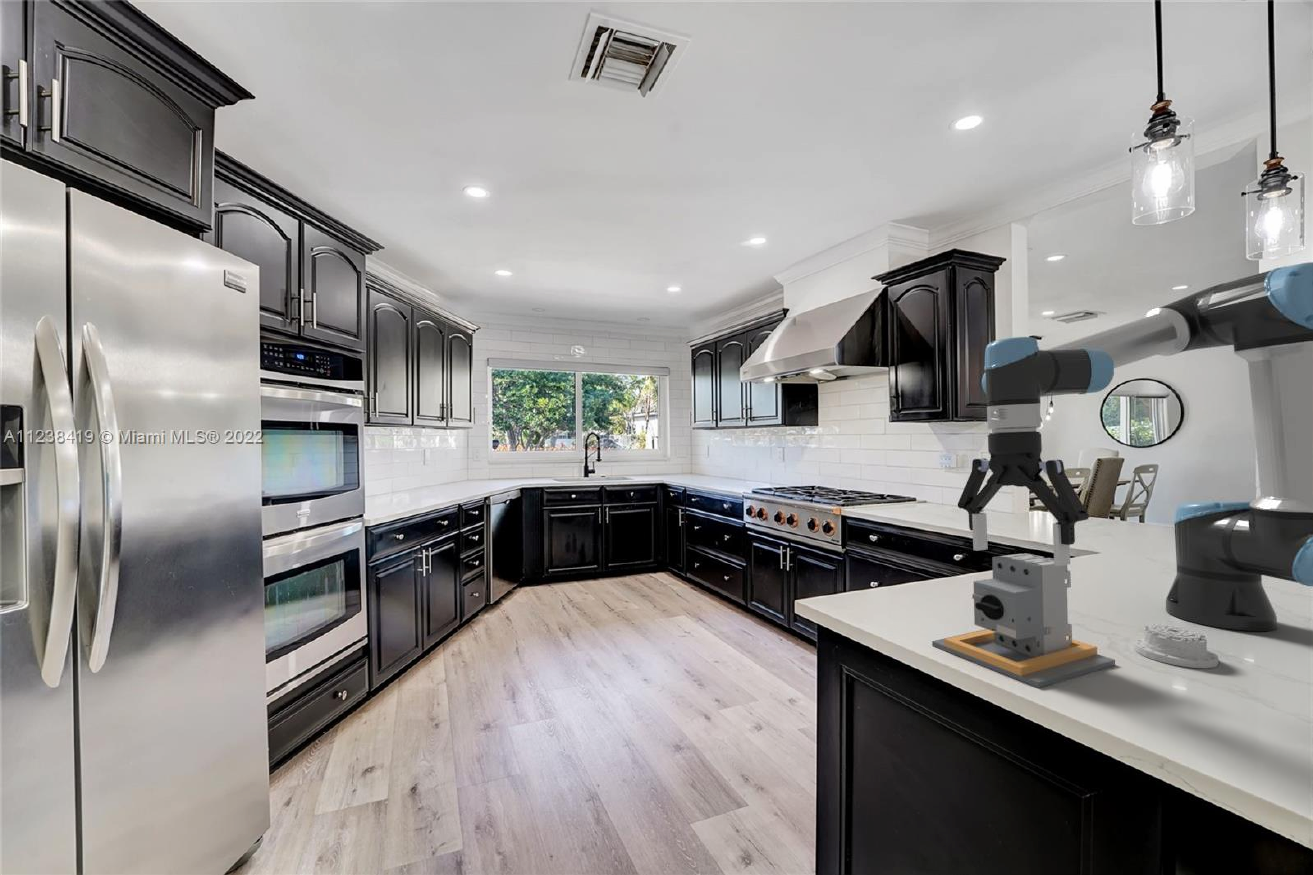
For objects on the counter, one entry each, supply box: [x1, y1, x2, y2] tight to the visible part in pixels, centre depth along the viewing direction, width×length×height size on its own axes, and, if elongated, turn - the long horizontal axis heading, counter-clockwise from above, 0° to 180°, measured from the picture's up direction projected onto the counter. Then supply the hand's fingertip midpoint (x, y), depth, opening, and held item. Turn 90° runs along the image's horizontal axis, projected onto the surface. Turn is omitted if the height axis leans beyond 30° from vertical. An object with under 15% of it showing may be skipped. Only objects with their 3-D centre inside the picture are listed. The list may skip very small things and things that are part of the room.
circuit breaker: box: [972, 552, 1073, 658], centre depth 91 cm, size 8×14×15 cm, turn 108°
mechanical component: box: [1133, 623, 1219, 669], centre depth 89 cm, size 10×4×10 cm
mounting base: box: [931, 628, 1116, 689], centre depth 91 cm, size 19×18×2 cm
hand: (1018, 556), depth 91 cm, fingers open, 13 cm apart
